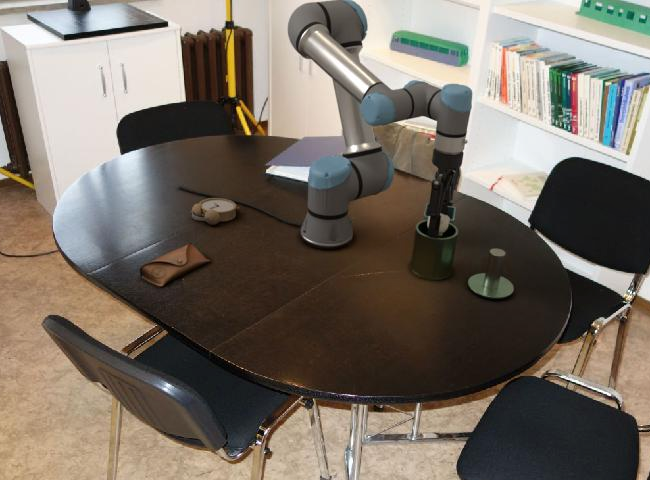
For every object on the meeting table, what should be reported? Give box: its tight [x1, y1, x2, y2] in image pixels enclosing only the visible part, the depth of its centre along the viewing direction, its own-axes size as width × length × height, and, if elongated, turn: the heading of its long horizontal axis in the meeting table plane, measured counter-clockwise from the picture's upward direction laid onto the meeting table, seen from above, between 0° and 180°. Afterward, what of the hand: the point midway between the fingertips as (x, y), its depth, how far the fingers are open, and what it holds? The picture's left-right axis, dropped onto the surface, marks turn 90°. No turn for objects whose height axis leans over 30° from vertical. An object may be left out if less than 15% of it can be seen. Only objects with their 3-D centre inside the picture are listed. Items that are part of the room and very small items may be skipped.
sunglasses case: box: [139, 242, 211, 287], centre depth 182 cm, size 18×7×7 cm, turn 144°
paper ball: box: [427, 213, 450, 236], centre depth 182 cm, size 6×6×6 cm
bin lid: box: [467, 248, 515, 300], centre depth 180 cm, size 12×12×11 cm
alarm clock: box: [190, 197, 240, 226], centre depth 208 cm, size 11×5×15 cm
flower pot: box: [423, 202, 457, 225], centre depth 203 cm, size 9×9×9 cm
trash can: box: [410, 219, 459, 281], centre depth 186 cm, size 11×11×13 cm
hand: (436, 232), depth 183 cm, fingers closed on paper ball, 5 cm apart
